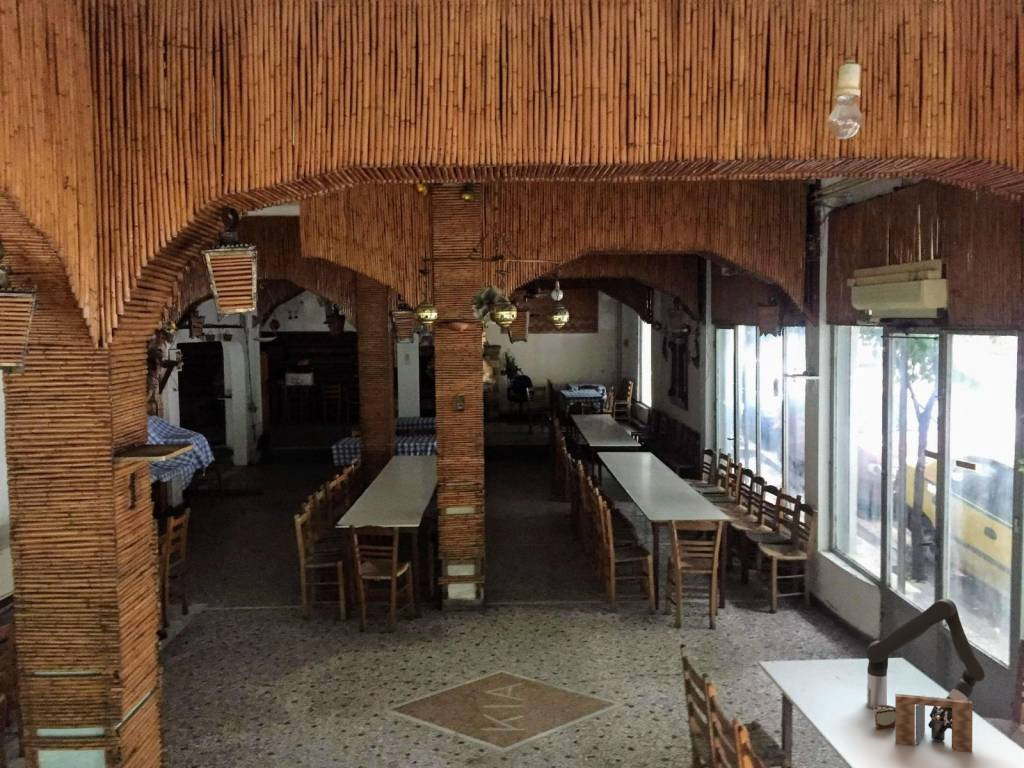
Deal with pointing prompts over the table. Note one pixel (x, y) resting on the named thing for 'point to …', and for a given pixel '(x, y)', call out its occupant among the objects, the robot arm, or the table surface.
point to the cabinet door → (920, 722)
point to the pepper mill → (937, 728)
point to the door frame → (960, 708)
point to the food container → (884, 717)
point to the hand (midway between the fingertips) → (935, 730)
